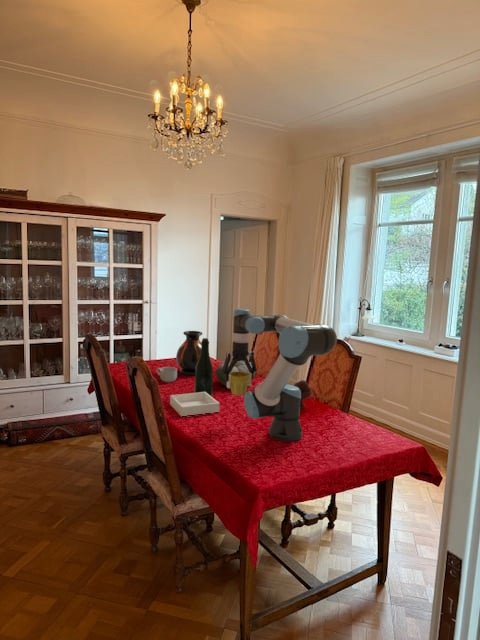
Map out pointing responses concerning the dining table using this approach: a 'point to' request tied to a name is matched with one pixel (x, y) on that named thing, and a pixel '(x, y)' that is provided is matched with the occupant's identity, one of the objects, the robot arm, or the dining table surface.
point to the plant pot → (239, 382)
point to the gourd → (237, 367)
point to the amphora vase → (189, 353)
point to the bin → (194, 403)
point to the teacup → (167, 373)
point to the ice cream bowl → (303, 391)
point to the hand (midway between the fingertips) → (238, 386)
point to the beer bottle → (204, 370)
